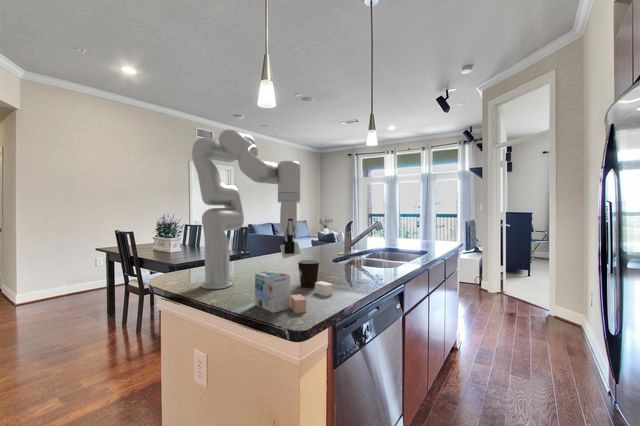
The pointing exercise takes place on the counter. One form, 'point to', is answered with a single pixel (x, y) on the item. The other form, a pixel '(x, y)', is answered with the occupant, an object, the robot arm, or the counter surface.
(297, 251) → the brick sage
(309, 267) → the coffee mug
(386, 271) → the counter surface
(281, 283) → the light bulb box
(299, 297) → the brick terracotta
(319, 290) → the brick cream
